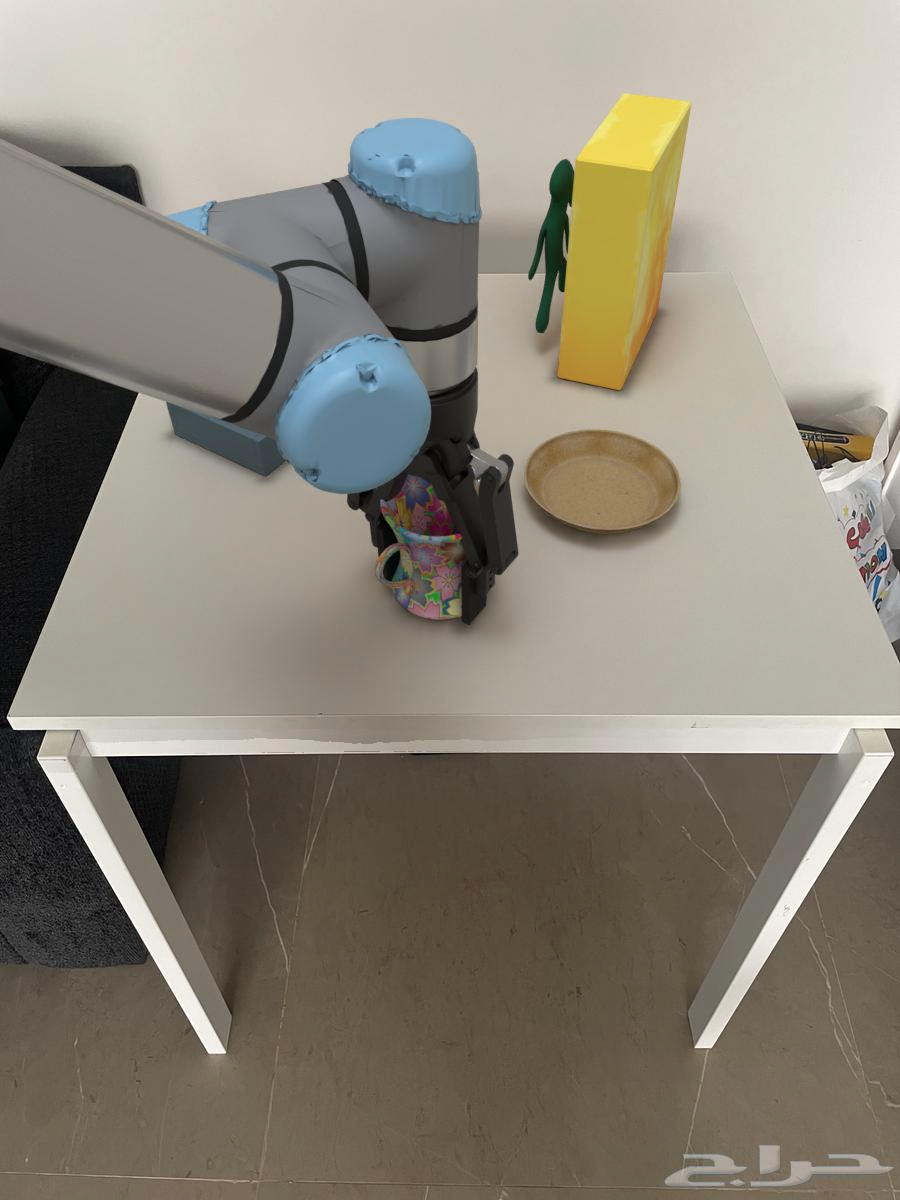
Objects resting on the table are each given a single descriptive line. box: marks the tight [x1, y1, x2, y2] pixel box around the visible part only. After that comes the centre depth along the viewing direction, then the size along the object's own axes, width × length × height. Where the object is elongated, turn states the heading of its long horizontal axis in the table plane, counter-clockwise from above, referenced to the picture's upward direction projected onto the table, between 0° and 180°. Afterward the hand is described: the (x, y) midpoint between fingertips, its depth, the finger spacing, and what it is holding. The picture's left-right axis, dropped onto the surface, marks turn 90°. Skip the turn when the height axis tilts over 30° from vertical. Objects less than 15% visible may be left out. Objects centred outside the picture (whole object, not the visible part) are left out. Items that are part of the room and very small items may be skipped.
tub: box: [165, 401, 286, 477], centre depth 99 cm, size 13×16×4 cm
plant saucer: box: [523, 428, 682, 535], centre depth 90 cm, size 15×15×3 cm
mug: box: [374, 469, 479, 621], centre depth 79 cm, size 12×9×11 cm
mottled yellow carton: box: [527, 92, 692, 391], centre depth 101 cm, size 18×12×24 cm
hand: (433, 593), depth 82 cm, fingers closed on mug, 8 cm apart
